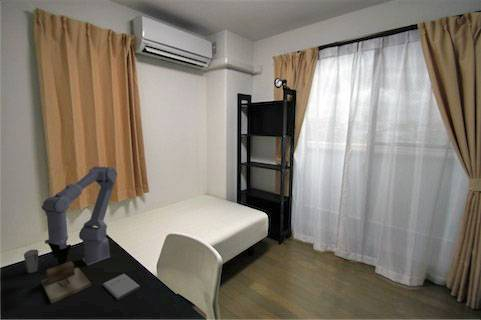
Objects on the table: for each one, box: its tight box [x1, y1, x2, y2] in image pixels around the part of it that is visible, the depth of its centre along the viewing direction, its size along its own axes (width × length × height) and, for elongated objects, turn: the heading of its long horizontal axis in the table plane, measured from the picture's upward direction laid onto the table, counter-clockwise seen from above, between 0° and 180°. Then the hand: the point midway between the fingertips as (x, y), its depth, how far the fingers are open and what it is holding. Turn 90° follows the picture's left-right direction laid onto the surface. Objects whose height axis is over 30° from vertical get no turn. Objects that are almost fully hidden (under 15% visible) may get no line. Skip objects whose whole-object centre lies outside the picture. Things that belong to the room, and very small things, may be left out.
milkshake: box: [23, 249, 39, 274], centre depth 94 cm, size 4×5×10 cm
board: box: [41, 266, 92, 304], centre depth 87 cm, size 12×16×1 cm
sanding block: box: [46, 260, 75, 285], centre depth 89 cm, size 8×4×4 cm, turn 141°
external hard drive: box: [102, 273, 141, 301], centre depth 86 cm, size 2×8×12 cm
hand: (59, 259), depth 88 cm, fingers open, 7 cm apart
